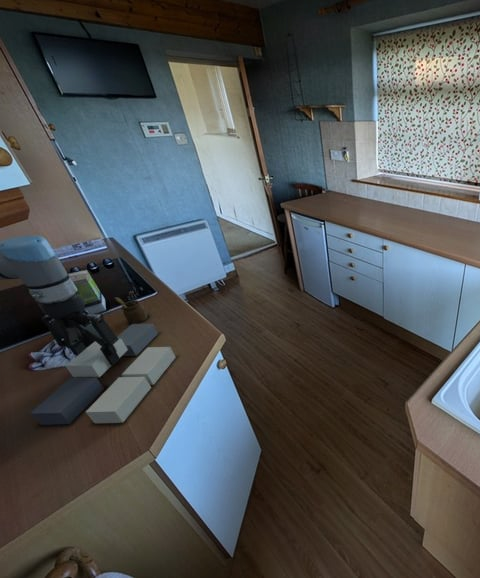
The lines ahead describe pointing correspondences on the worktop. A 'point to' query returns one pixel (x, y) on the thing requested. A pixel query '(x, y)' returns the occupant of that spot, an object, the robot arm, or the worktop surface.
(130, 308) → the utensil holder
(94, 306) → the tea box
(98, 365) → the white book
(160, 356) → the white book
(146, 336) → the grey book
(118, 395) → the white book
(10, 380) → the worktop surface
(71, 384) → the grey book
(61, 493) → the worktop surface
